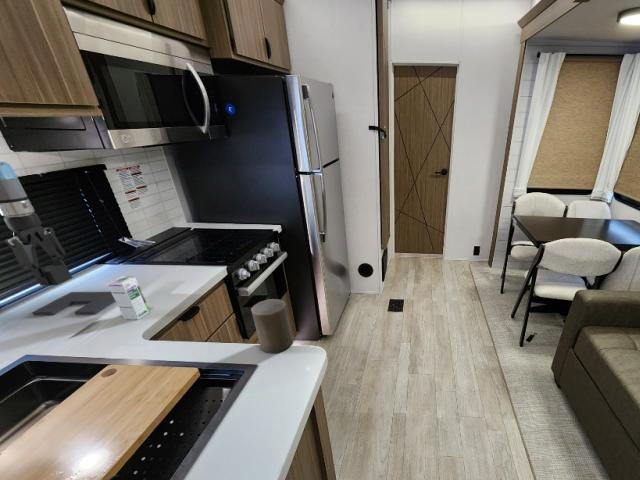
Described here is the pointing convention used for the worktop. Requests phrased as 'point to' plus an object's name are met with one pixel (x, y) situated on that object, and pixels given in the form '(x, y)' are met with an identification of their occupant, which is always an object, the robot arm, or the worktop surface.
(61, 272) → the black pad
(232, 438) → the worktop surface
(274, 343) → the pillar candle
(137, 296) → the syrup box
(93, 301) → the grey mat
